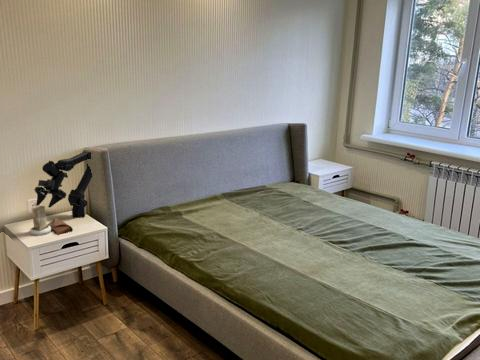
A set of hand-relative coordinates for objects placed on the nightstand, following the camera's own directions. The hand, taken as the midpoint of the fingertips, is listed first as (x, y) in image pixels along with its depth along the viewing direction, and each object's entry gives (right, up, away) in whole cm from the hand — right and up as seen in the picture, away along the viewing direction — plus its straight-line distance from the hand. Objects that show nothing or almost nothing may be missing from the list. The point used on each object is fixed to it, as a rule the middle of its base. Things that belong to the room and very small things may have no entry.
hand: (43, 206), depth 243 cm
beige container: (-2, -12, 0) cm, 12 cm away
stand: (-1, -14, +1) cm, 14 cm away
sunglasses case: (+6, -13, +6) cm, 16 cm away
